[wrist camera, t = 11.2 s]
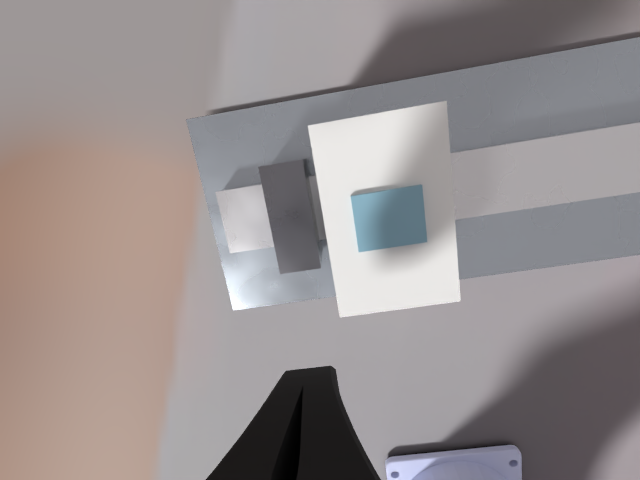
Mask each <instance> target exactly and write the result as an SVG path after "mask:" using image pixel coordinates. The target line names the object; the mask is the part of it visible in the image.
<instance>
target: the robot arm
mask: <svg viewBox="0 0 640 480" xmlns="http://www.w3.org/2000/svg"><path fill="white" fill-rule="evenodd" d="M511 460H512V461H511ZM385 467H386V474H387V480H522V456H521V452H520V451H519V449H518V448H517V447H516V446H514V445H503V446H493V447H483V448H473V449H463V450H453V451H443V452H433V453H423V454H413V455H403V456H393V457H389V458H388V459H387V460H386V461H385ZM394 471H397V472H394ZM206 480H381V479H380V478H379V476H378V474H377V473H376V471H375V469H374V467H373V465H372V464H371V462H370V460H369V458H368V456H367V454H366V453H365V451H364V449H363V447H362V445H361V443H360V441H359V439H358V437H357V435H356V433H355V431H354V429H353V426H352V424H351V422H350V419H349V417H348V415H347V412H346V410H345V407H344V405H343V402H342V399H341V396H340V393H339V387H338V381H337V375H336V369H334V368H333V367H332V366H324V367H316V368H307V369H298V370H290V371H286V372H285V373H284V374H283V375H282V377H281V378H280V380H279V381H278V383H277V384H276V386H275V387H274V389H273V390H272V392H271V394H270V395H269V397H268V398H267V400H266V401H265V402H264V404H263V405H262V407H261V408H260V410H259V411H258V413H257V414H256V415H255V417H254V418H253V420H252V421H251V422H250V424H249V425H248V427H247V428H246V429H245V431H244V432H243V434H242V435H241V436H240V438H239V439H238V440H237V442H236V443H235V444H234V445H233V447H232V448H231V449H230V450H229V452H228V453H227V454H226V455H225V457H224V458H223V459H222V461H221V462H220V463H219V464H218V466H217V467H216V468H215V469H214V471H213V472H212V473H211V474H210V475H209V476H208V478H207V479H206Z"/></svg>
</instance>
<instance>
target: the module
mask: <svg viewBox="0 0 640 480" xmlns="http://www.w3.org/2000/svg"><path fill="white" fill-rule="evenodd" d="M308 130H309V136H310V142H311V148H312V154H313V160H314V166H315V172H316V178H317V184H318V190H319V196H320V202H321V208H322V214H323V220H324V226H325V232H326V238H327V244H328V250H329V256H330V262H331V268H332V274H333V280H334V286H335V292H336V297H337V303H338V309H339V315H340V317H347V316H355V315H362V314H369V313H377V312H384V311H392V310H399V309H406V308H414V307H421V306H429V305H436V304H443V303H451V302H458V301H461V300H460V286H459V272H458V257H457V243H456V228H455V214H454V199H453V185H452V170H451V156H450V142H449V127H448V113H447V101H442V102H436V103H431V104H425V105H420V106H414V107H409V108H403V109H398V110H392V111H386V112H381V113H375V114H370V115H364V116H359V117H353V118H347V119H342V120H336V121H331V122H325V123H320V124H314V125H309V126H308Z"/></svg>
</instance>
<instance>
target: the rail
mask: <svg viewBox="0 0 640 480" xmlns="http://www.w3.org/2000/svg"><path fill="white" fill-rule="evenodd" d="M442 101H447V113H448V127H449V142H450V156H451V170H452V185H453V199H454V214H455V228H456V243H457V257H458V272H459V279H466V278H473V277H481V276H488V275H495V274H503V273H510V272H517V271H525V270H532V269H539V268H547V267H554V266H561V265H569V264H576V263H583V262H591V261H598V260H605V259H612V258H620V257H627V256H634V255H640V37H637V38H631V39H626V40H620V41H615V42H609V43H604V44H598V45H593V46H587V47H582V48H576V49H571V50H565V51H560V52H554V53H549V54H543V55H538V56H532V57H527V58H521V59H516V60H510V61H505V62H499V63H494V64H488V65H483V66H477V67H472V68H466V69H461V70H455V71H450V72H444V73H439V74H433V75H428V76H422V77H417V78H411V79H406V80H400V81H395V82H389V83H384V84H378V85H373V86H367V87H362V88H356V89H351V90H345V91H340V92H334V93H329V94H323V95H318V96H312V97H307V98H301V99H296V100H290V101H285V102H279V103H274V104H268V105H263V106H257V107H252V108H246V109H241V110H235V111H230V112H224V113H219V114H213V115H208V116H202V117H197V118H192V119H186V121H187V124H188V129H189V133H190V137H191V141H192V145H193V149H194V153H195V157H196V161H197V165H198V169H199V173H200V177H201V182H202V186H203V190H204V194H205V198H206V202H207V206H208V210H209V214H210V218H211V222H212V226H213V230H214V234H215V238H216V242H217V246H218V250H219V254H220V258H221V262H222V267H223V271H224V275H225V279H226V283H227V287H228V291H229V295H230V299H231V303H232V307H233V310H239V309H246V308H254V307H261V306H268V305H276V304H283V303H290V302H298V301H305V300H312V299H320V298H327V297H334V296H336V292H335V286H334V280H333V274H332V268H331V262H330V256H329V250H328V244H327V238H326V232H325V226H324V220H323V214H322V208H321V202H320V196H319V190H318V184H317V178H316V172H315V166H314V160H313V154H312V148H311V142H310V136H309V130H308V126H309V125H314V124H320V123H325V122H331V121H336V120H342V119H347V118H353V117H359V116H364V115H370V114H375V113H381V112H386V111H392V110H398V109H403V108H409V107H414V106H420V105H425V104H431V103H436V102H442Z"/></svg>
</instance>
